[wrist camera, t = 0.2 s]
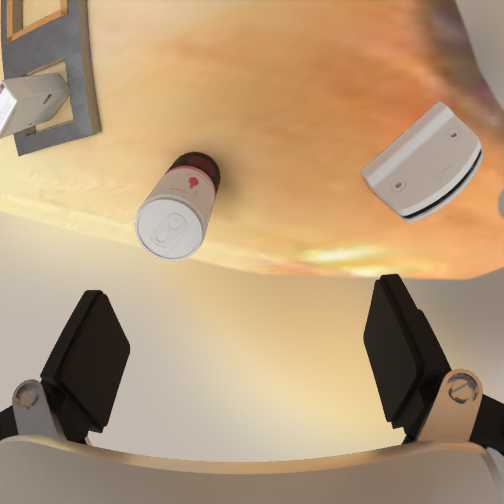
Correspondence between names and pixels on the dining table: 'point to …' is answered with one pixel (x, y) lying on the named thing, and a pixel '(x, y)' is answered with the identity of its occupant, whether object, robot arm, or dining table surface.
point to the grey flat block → (44, 55)
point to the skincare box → (29, 101)
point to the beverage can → (179, 208)
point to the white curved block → (425, 165)
